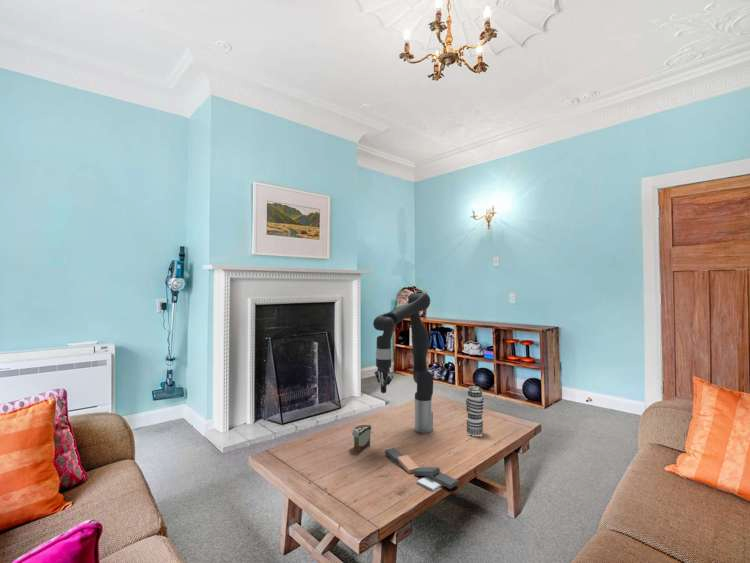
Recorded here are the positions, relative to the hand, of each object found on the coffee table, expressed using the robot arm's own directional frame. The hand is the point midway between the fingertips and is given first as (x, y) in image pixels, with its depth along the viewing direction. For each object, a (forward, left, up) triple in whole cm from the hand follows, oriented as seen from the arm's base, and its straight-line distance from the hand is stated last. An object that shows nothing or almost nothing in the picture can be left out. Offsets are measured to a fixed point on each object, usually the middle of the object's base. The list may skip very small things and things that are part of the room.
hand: (383, 392), depth 181 cm
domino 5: (-1, +35, -25) cm, 43 cm away
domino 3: (+2, +17, -25) cm, 30 cm away
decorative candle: (-51, +13, -27) cm, 59 cm away
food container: (+10, -6, -27) cm, 30 cm away
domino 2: (+2, +11, -27) cm, 29 cm away
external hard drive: (0, +37, -28) cm, 46 cm away
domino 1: (+1, +7, -26) cm, 26 cm away
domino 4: (+2, +28, -26) cm, 38 cm away
